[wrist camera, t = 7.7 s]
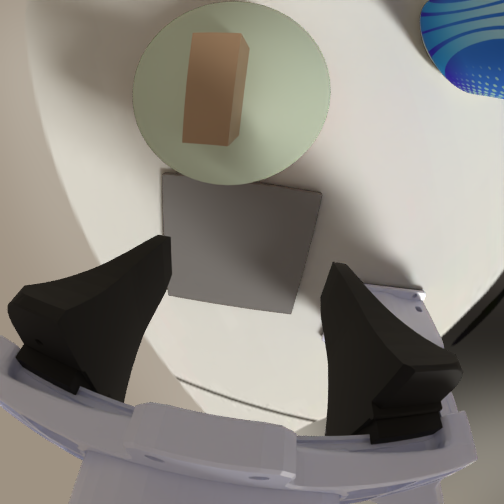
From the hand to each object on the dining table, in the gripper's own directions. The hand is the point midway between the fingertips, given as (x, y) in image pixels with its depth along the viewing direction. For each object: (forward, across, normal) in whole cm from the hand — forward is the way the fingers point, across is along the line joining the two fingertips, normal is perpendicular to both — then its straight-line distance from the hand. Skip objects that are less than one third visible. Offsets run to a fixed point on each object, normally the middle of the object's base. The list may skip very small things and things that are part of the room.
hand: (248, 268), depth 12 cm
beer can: (+10, -13, -16) cm, 23 cm away
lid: (+6, +3, -7) cm, 10 cm away
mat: (+10, +2, +5) cm, 11 cm away
